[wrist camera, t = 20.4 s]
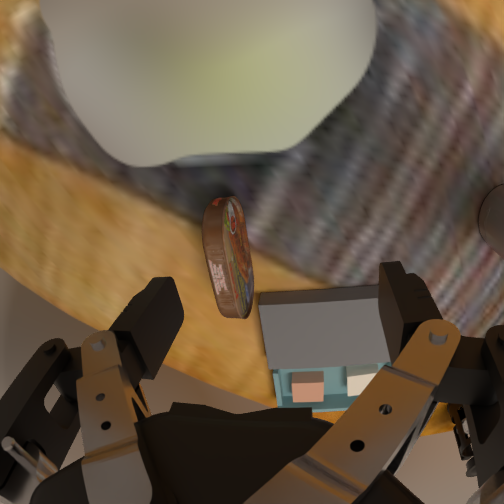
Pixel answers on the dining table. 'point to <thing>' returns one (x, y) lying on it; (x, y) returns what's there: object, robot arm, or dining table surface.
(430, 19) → the dining table surface
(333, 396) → the tray
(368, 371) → the cream tile
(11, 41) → the dining table surface
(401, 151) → the dining table surface
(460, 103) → the dining table surface
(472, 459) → the french press
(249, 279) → the tin
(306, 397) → the terracotta tile
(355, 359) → the grey stone slab
